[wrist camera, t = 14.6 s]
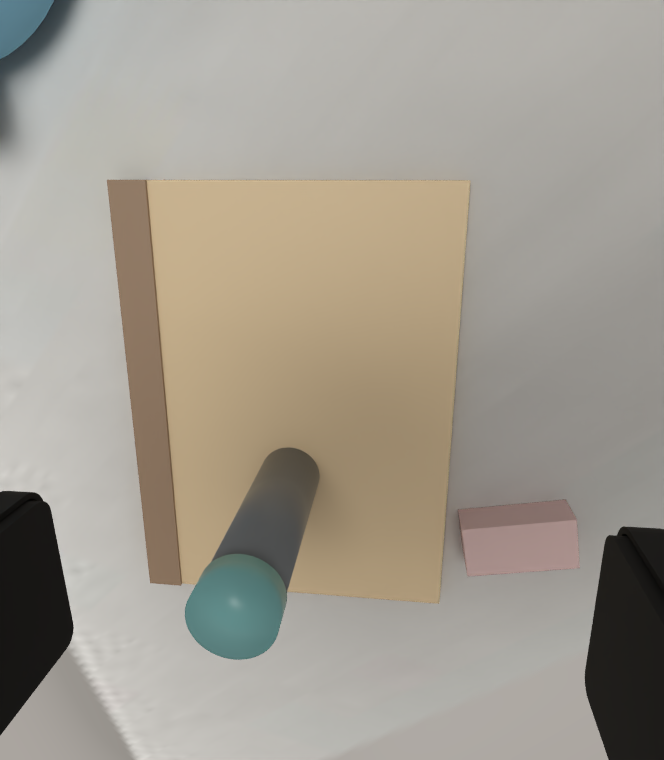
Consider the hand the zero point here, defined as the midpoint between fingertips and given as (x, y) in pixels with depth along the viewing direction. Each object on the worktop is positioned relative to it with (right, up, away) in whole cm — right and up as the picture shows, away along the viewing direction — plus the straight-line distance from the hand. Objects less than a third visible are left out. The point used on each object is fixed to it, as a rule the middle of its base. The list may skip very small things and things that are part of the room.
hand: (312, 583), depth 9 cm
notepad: (-2, +2, +23) cm, 23 cm away
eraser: (+11, -5, +24) cm, 27 cm away
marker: (-2, -2, +23) cm, 23 cm away
